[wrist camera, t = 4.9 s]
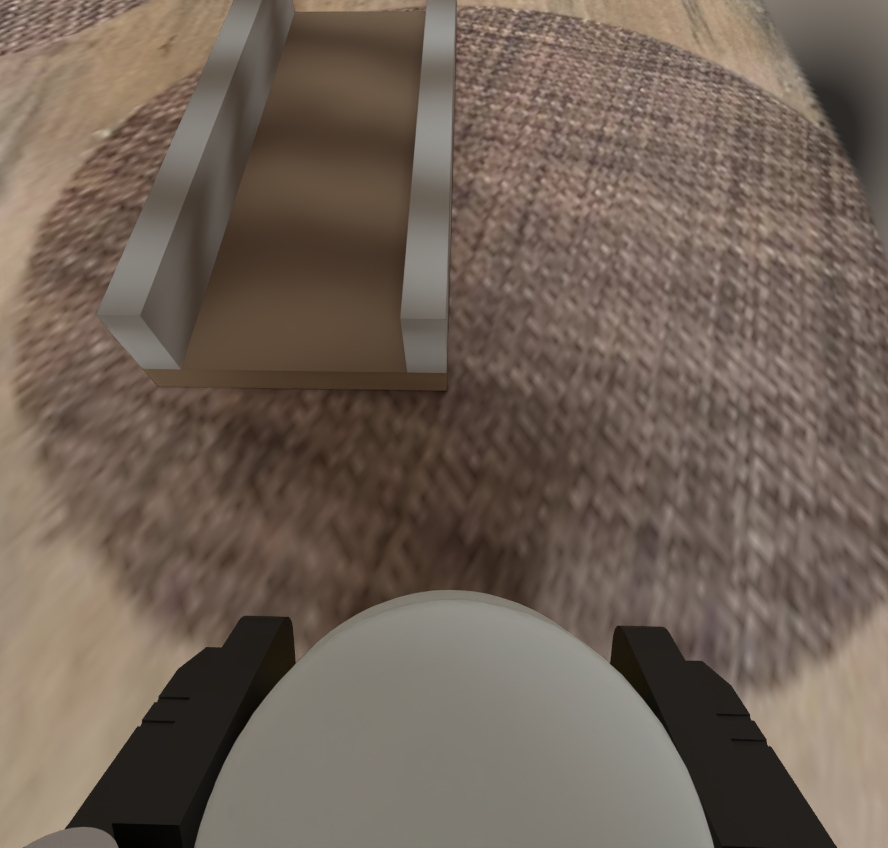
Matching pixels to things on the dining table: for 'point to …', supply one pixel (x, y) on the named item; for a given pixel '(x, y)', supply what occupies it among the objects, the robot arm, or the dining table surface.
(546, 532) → the dining table surface
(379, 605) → the supplement bottle
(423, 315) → the walnut track
